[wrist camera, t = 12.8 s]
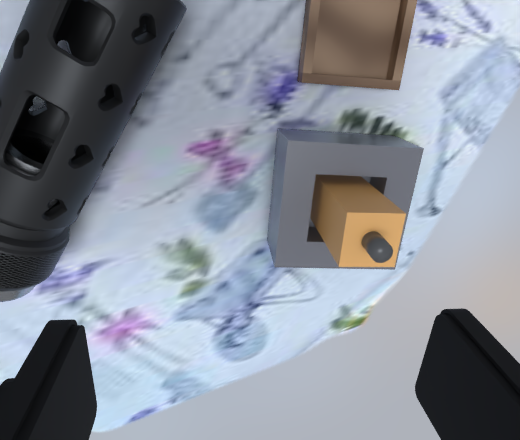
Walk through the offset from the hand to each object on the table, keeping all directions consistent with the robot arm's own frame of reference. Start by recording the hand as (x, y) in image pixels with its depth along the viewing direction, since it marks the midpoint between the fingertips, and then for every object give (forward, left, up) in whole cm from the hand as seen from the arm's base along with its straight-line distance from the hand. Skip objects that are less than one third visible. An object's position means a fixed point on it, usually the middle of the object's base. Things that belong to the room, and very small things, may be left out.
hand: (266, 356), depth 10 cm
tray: (-10, +11, -30) cm, 33 cm away
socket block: (+5, +11, -30) cm, 32 cm away
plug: (+5, +10, -27) cm, 30 cm away
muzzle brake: (0, -14, -30) cm, 34 cm away
